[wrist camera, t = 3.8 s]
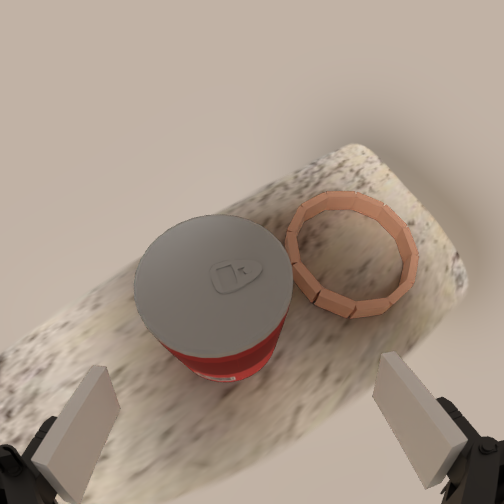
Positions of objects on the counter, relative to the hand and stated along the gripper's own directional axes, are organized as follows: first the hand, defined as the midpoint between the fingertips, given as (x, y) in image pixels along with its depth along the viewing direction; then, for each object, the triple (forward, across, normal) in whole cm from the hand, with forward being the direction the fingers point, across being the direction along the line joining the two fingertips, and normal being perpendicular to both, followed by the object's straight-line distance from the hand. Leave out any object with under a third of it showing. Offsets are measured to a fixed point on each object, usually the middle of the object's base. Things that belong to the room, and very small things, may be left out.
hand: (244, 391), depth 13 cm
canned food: (+11, -1, -3) cm, 11 cm away
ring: (+16, +11, +2) cm, 19 cm away
